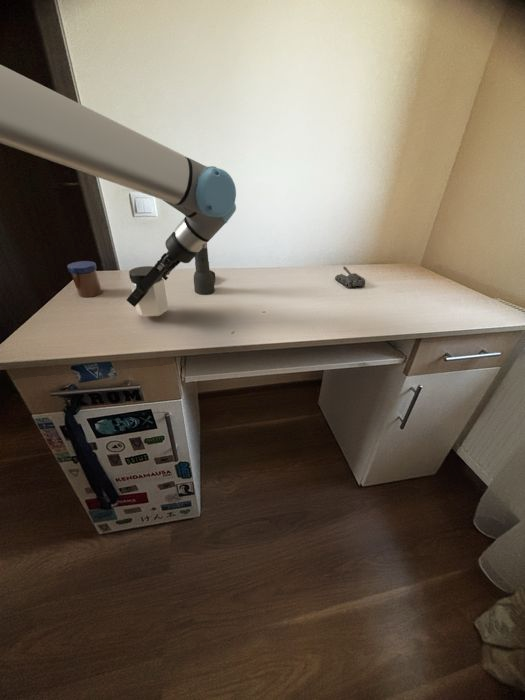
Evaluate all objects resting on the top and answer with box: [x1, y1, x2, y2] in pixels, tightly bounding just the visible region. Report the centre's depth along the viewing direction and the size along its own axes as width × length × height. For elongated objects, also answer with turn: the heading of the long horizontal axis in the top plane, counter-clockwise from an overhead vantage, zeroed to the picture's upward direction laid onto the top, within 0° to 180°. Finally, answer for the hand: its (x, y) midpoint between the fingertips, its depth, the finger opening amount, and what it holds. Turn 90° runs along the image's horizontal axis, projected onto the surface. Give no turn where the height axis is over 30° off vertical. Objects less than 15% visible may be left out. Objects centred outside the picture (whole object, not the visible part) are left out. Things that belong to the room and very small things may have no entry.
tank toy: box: [334, 266, 366, 289], centre depth 113 cm, size 12×10×5 cm
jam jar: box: [70, 269, 103, 298], centre depth 94 cm, size 7×7×9 cm
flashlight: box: [193, 242, 215, 296], centre depth 93 cm, size 7×28×7 cm
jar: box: [128, 265, 169, 317], centre depth 80 cm, size 9×8×12 cm
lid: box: [66, 260, 98, 274], centre depth 92 cm, size 8×8×2 cm
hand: (139, 296), depth 81 cm, fingers closed on jar, 9 cm apart
